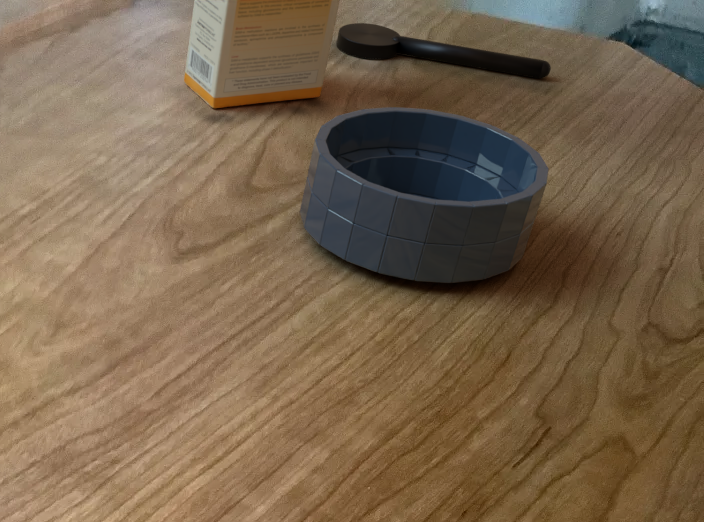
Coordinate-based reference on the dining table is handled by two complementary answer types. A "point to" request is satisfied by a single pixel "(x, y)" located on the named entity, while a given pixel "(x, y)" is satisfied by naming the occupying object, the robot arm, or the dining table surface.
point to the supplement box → (259, 50)
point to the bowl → (422, 194)
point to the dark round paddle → (431, 51)
